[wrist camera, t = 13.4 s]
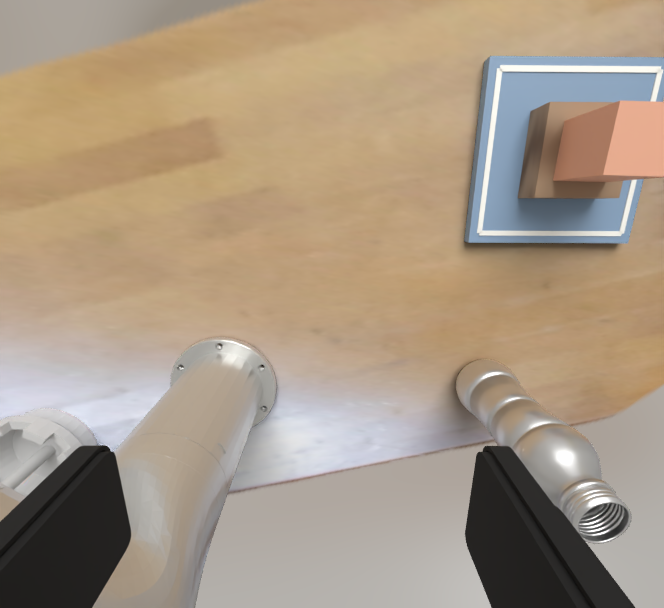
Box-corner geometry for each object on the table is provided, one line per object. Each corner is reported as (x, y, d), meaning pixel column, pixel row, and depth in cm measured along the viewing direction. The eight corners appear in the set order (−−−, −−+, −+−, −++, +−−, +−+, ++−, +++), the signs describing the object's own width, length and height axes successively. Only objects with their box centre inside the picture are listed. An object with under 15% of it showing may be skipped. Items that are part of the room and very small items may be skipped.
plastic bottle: (439, 379, 42) (532, 527, 22) (481, 341, 40) (619, 464, 21) (473, 410, 43) (589, 575, 24) (515, 374, 42) (674, 519, 22)
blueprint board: (618, 242, 37) (628, 243, 36) (464, 241, 37) (468, 242, 36) (661, 62, 32) (674, 56, 31) (484, 61, 32) (490, 55, 31)
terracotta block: (606, 182, 31) (668, 176, 26) (552, 180, 31) (603, 174, 26) (620, 122, 30) (689, 102, 24) (564, 120, 30) (620, 100, 24)
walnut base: (595, 198, 35) (619, 198, 32) (517, 198, 35) (534, 197, 32) (613, 111, 32) (641, 102, 30) (530, 111, 32) (550, 101, 30)
